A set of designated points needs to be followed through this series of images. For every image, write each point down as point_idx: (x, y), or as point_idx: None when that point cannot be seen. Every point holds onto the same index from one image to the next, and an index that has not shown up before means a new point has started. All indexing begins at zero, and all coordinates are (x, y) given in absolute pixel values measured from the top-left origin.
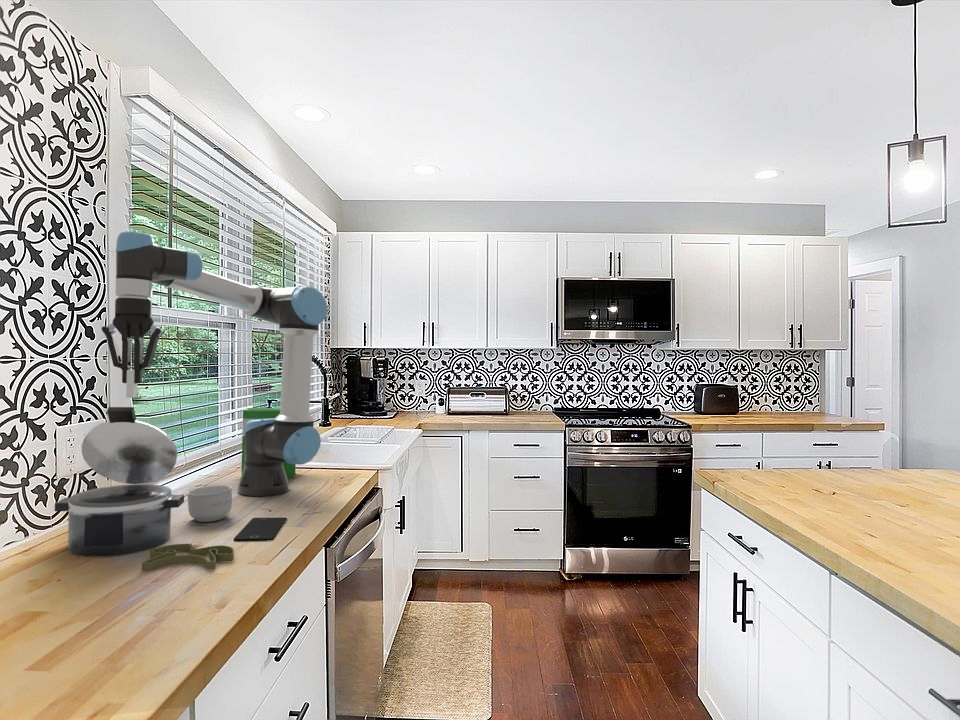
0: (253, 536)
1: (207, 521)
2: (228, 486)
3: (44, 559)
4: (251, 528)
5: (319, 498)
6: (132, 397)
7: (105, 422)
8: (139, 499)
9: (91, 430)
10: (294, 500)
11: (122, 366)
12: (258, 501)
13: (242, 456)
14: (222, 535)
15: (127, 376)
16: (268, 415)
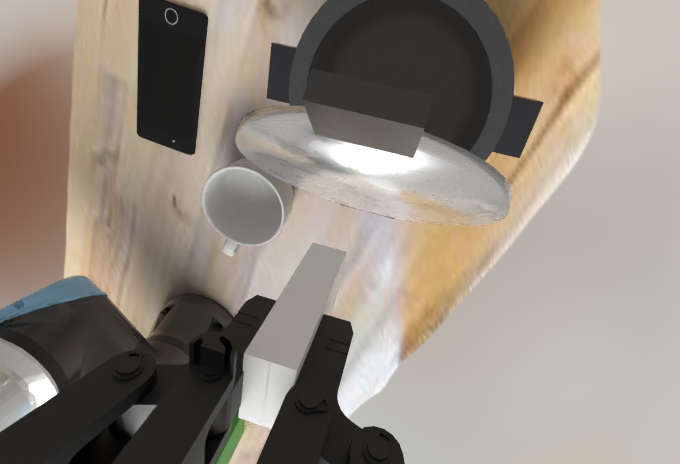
0: (173, 20)
1: None
2: (211, 221)
3: (534, 13)
4: (184, 80)
5: (109, 247)
6: (315, 244)
7: (440, 154)
8: (349, 14)
9: (491, 172)
10: (146, 250)
11: (323, 412)
12: (201, 267)
13: (224, 445)
14: (231, 65)
15: (307, 330)
16: None
